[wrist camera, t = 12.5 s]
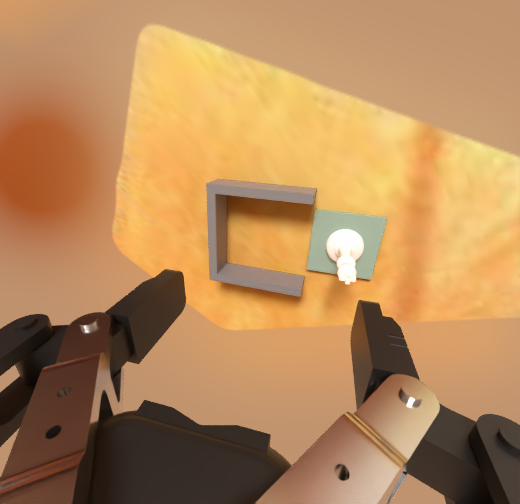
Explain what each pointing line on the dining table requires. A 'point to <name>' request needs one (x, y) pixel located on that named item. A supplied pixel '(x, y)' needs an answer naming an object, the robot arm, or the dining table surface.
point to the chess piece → (345, 252)
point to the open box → (218, 234)
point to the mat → (360, 223)
